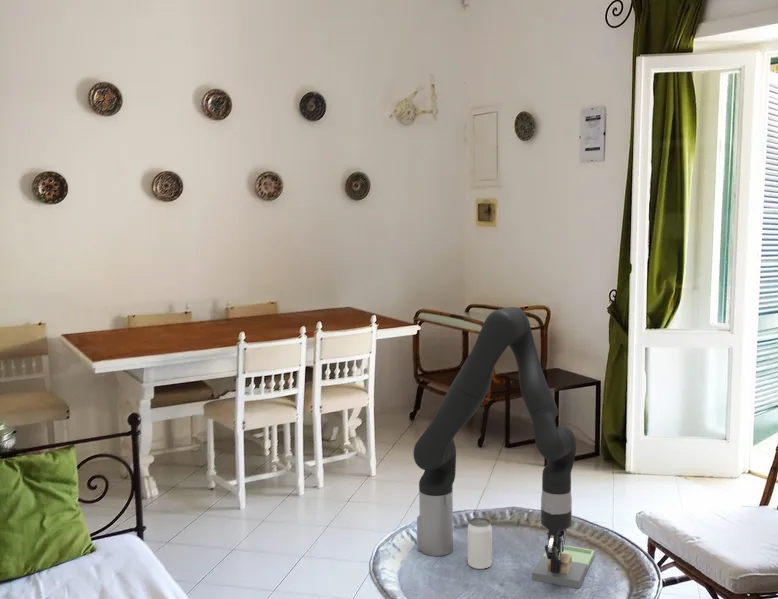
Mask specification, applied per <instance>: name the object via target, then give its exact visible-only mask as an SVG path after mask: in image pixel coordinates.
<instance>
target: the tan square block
mask: <svg viewBox="0 0 778 599" xmlns="http://www.w3.org/2000/svg"><path fill="white" fill-rule="evenodd" d="M560 558H561V570H560V572H559V573H563V574H568V572H569V570H570V568H571V566H572V555H570V554H564V553H562V557H560ZM548 571H551V560H549V559H548Z"/></svg>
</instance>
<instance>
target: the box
mask: <svg viewBox="0 0 778 599" xmlns="http://www.w3.org/2000/svg"><path fill="white" fill-rule="evenodd" d="M595 551H596V550H595V549H591V548H590V549H589V548H584V547H578V546H577V547H576V546H572V545H565V544H564V551H563V552H562V553H564V554H570V555H572V561H573V562H578V563H584V564H587V571H588V570H589V568H590V566H591V564H592V562H593V560H594V557H595ZM543 556H544V557H547V554H546V551H545V552H544V553H543Z"/></svg>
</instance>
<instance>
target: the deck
mask: <svg viewBox="0 0 778 599" xmlns="http://www.w3.org/2000/svg"><path fill="white" fill-rule="evenodd" d="M587 572H588V570H587V564H584V563H578V562H573V561H572V566H571V568H570V570H569V572H568V574H563V573H558V574H556V573H552V572H551V571H548V558H547V557H544V556H541V557H540V558H539V560H538V562H537V563H536V565H535V566H534V568H533V570H532V572H531V580H532V579H533V580H532V581H535V582H541V581H542V583H546V582H547V583H548V584H552V583H553V584H552V585H559V586H563V587H567V588H574V589H580V587H581V586H582V583H583V582H584V578H585V576H586V575H587Z"/></svg>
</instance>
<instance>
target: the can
mask: <svg viewBox="0 0 778 599" xmlns="http://www.w3.org/2000/svg"><path fill="white" fill-rule="evenodd" d="M466 539H467V541H466V542H467V564H468V566H469V567H470V568H472V569H474V568H475V570H486V569H485V568H487V569H489V568H491V566H492V564H493V527H492V525H491V520H490V519H488V518H486V517H479V516H478V517H473V518H470V519H469V520H468V525H467V538H466ZM488 567H489V568H488Z"/></svg>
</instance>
